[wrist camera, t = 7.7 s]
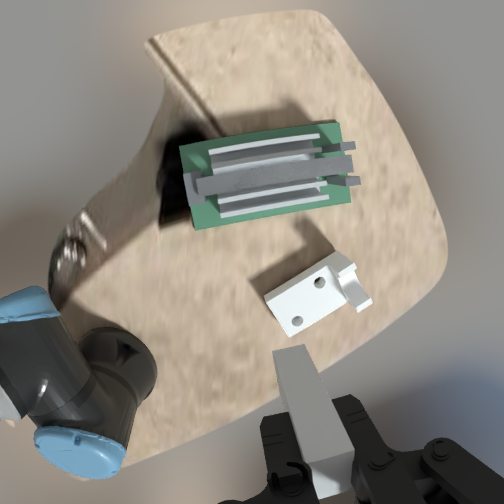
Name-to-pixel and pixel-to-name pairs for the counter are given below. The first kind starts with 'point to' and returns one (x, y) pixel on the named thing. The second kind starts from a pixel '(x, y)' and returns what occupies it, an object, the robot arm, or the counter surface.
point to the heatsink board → (258, 155)
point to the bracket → (317, 293)
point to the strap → (274, 174)
